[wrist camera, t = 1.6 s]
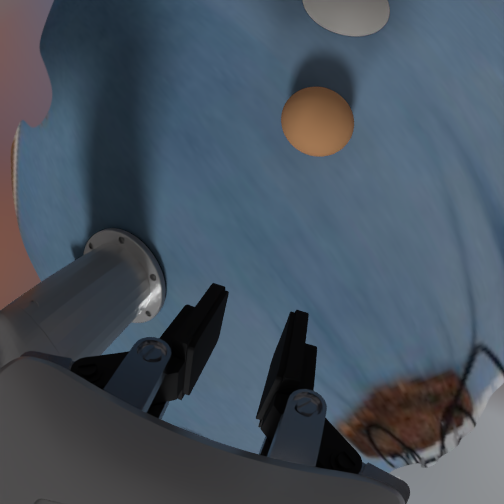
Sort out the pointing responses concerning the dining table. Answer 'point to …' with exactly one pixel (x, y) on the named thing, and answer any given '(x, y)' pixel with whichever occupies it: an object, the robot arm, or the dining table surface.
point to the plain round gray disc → (349, 15)
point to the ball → (317, 121)
